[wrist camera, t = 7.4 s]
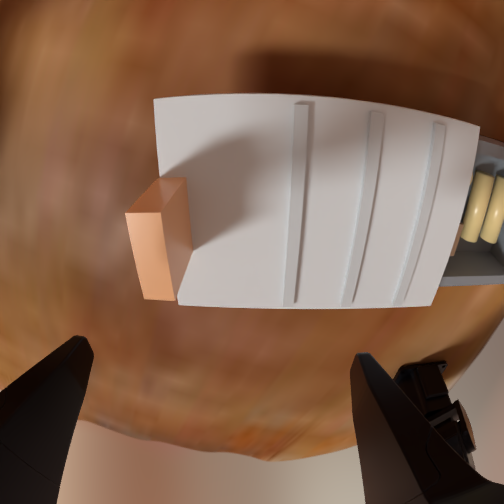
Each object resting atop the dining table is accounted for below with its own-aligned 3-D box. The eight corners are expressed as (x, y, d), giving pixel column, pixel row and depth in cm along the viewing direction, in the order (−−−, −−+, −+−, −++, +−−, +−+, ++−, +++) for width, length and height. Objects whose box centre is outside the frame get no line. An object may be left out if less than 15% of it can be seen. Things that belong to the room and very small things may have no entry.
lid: (424, 294, 19) (453, 350, 14) (181, 292, 19) (160, 355, 15) (467, 122, 12) (530, 147, 8) (159, 97, 13) (111, 109, 9)
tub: (489, 256, 21) (512, 283, 18) (348, 253, 22) (361, 287, 18) (519, 147, 16) (552, 164, 12) (366, 111, 16) (391, 120, 13)
